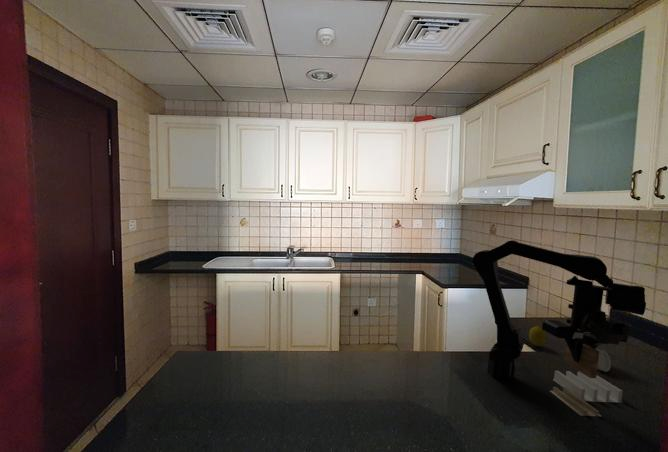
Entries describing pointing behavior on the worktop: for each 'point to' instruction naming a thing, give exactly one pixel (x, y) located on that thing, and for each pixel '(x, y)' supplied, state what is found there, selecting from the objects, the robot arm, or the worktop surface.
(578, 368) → the board
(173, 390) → the worktop surface
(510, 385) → the worktop surface
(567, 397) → the stand
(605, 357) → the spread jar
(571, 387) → the rack
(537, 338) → the lemon
